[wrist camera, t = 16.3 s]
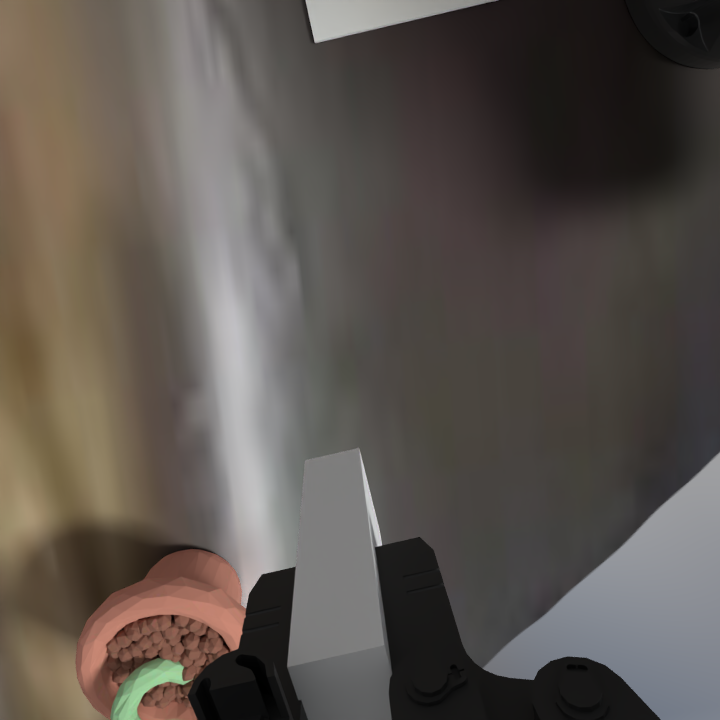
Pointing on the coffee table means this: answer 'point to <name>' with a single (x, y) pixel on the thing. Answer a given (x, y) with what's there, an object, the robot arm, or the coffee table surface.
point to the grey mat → (373, 14)
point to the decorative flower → (160, 637)
